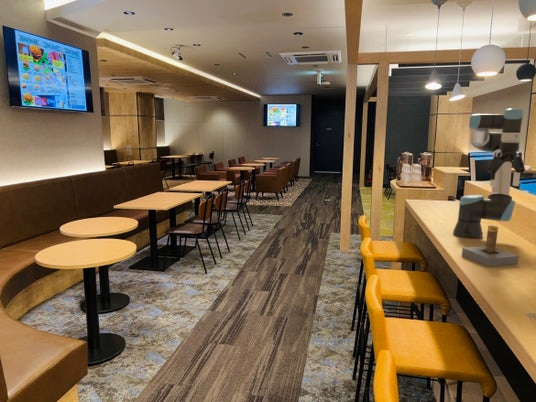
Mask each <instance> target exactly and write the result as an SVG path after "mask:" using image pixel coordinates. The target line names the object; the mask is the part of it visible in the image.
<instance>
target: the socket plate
mask: <svg viewBox="0 0 536 402" xmlns="http://www.w3.org/2000/svg"><path fill="white" fill-rule="evenodd" d="M485 248H486V245H482V246H481V245H480V246H470V247H462V251H461V256H462V257H463V258H466V259H468V260H471V261H473V262H474V263H475V262H476V263H477V264H480V265H482V266H484V267H487V268H497V267H507V266H515V265H518V264H519V257H520V256H519V255H517V254H515V253H514V254H513V253H512V252H509V251H506V250H503V249H500V248H498V247H496V248H495V254H488V253H485Z"/></svg>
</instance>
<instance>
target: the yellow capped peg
mask: <svg viewBox="0 0 536 402" xmlns="http://www.w3.org/2000/svg"><path fill="white" fill-rule="evenodd" d="M498 233H499V226H496V225H488V226H487V233H486V240H485V241H486V242H485V246H486V248H485V253H488V254H495V248H497V240H498Z"/></svg>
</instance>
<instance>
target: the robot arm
mask: <svg viewBox="0 0 536 402" xmlns="http://www.w3.org/2000/svg"><path fill="white" fill-rule="evenodd" d="M523 118H524V110H523V109H522V108H506V109H505V110H504V113H474V114H473V113H472V114H471V115H470V116H469V123H468V128H469V129H470V130H472V134H471V135H470V143H471V145H472V146H473V147H474V148H476V149H477V150H479V151H483V152H489V153H491V154H492V156H493V158H492V159H491V161H490V164H489V165H488V168H487V169H486V170H487V172H488V173H490V176H489V179H490V183H489V187H491V193H490V194H489V195H488V196H487V198H486V197H485V196H484V195H482V194H481V195H480V194H469V195H467V194H466V195H463V196H461V197H460V199H459V206H458V207H459V208H458V216H457V222H456V224H455V227H454V229H453V232H452V234H453V235H454V236H456V237H459V238H464V239H472V240H473V239H476V240H477V239H482V238H483V235H484V233H483V229H482V224H481V221H482V220H488V221H498V222H510V221H511V219H512V216H513V212H514V209H515V204H516V201H515V200H513V197H512V196H511V195H510V190H511V189H510V188H511V187H510V186H511V177H512V167H513V170H514V171H515V172H513V179H512V180H513V181H512V186H514V187H519V185H520V180H521V176H522V175H521V174H523V173H524V172H525V171H526V168H525V165H524V164H525V163H524V160H523V152H521V151H520V143H521V142H520V137H521V129H522V124H523ZM490 130H502V131H490ZM519 151H520V152H519Z"/></svg>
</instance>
